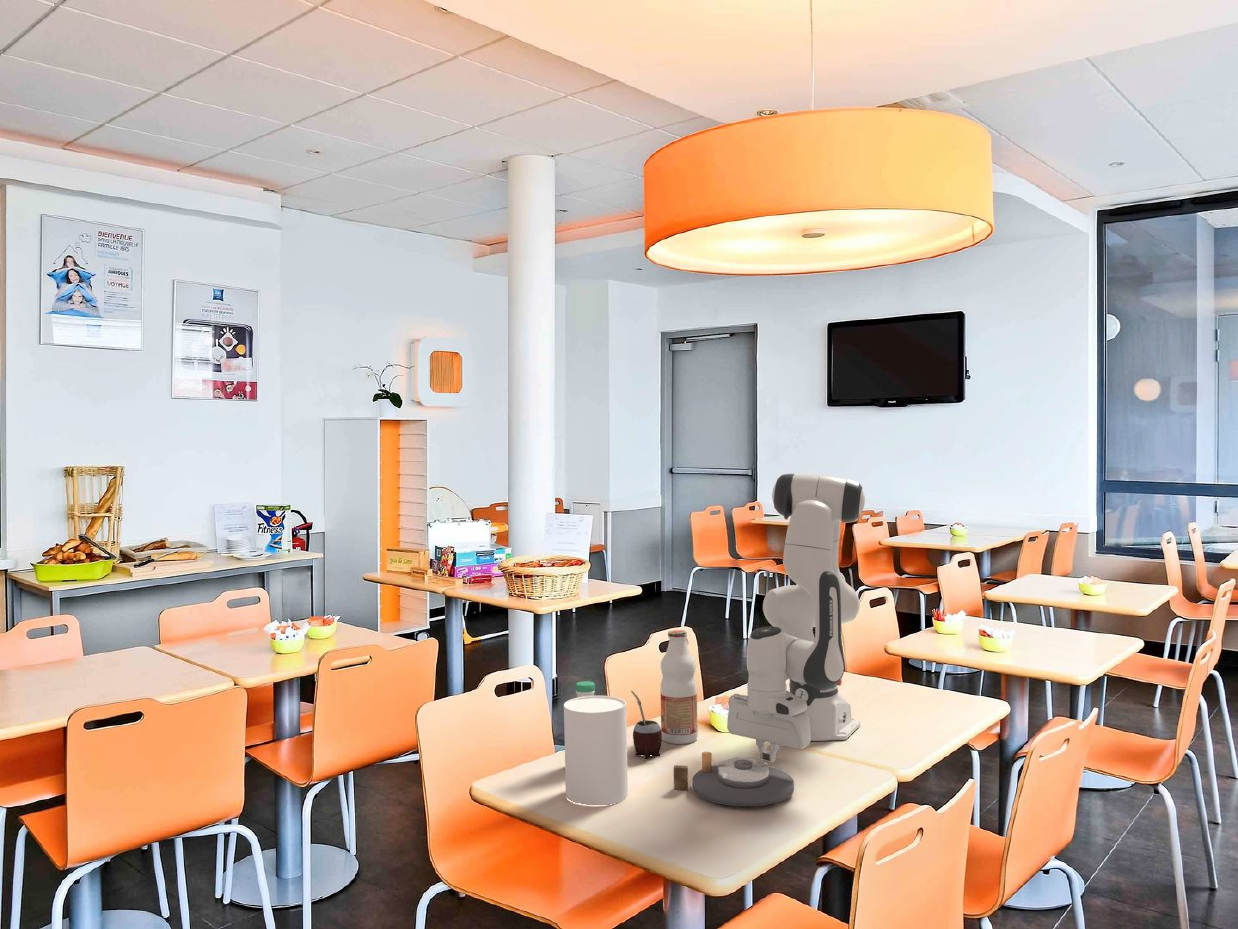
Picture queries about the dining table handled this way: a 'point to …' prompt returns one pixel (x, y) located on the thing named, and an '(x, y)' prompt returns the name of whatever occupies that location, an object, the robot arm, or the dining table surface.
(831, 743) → the dining table surface
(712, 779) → the turntable
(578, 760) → the canister
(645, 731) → the mate gourd
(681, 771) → the brown wooden block
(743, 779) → the cover
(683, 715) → the fruit juice
